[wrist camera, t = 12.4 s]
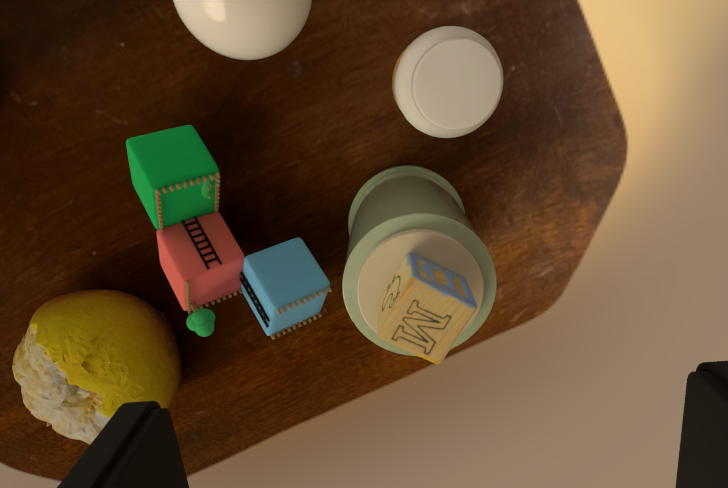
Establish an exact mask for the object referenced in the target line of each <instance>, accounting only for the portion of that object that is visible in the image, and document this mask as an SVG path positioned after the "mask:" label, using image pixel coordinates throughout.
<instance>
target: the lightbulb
mask: <svg viewBox="0 0 728 488" xmlns="http://www.w3.org/2000/svg"><path fill="white" fill-rule="evenodd" d="M173 2H174V5H175V8H176V10H177V12H178V14H179V16H180V18H181V20H182V21H183V23H184V24H185V26H186V27H187V28H188V30H189V31H190V32H191V33H192V34H193V35H194V36H195V37H196V38H197V39H198V40H199V41H200V42H201V43H203V44H204V45H205V46H207V47H208V48H210V49H211V50H213V51H215V52H217V53H219V54H221V55H224V56H226V57H230V58H234V59H240V60H257V59H262V58H266V57H269V56H272V55H274V54H276V53H278V52H280V51H281V50H283V49H284V48H286V47H287V46H288V45H289V44H291V43H292V42H293V41H294V39H295V38H296V37H297V36H298V35H299V33H300V32H301V30H302V29H303V27H304V25H305V23H306V21H307V18H308V16H309V12H310V9H311V4H312V0H173Z"/></svg>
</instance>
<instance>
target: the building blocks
mask: <svg viewBox="0 0 728 488" xmlns="http://www.w3.org/2000/svg"><path fill="white" fill-rule="evenodd" d="M126 147H127V153H128V159H129V165H130V171H131V177H132V182H133V185H134V188H135V190H136V191H137V193H138V195H139V197H140V199H141V201H142V203H143V205H144V207H145V209H146V211H147V213H148V215H149V217H150V219H151V221H152V223H153V225H154V227H155V228H156V229H158V230H157V241H158V249H159V257H160V264H161V266H162V269H163V271H164V273H165V275H166V277H167V279H168V281H169V283H170V285H171V287H172V289H173V291H174V293H175V295H176V297H177V299H178V301H179V303H180V305H181V307H182V308H183V310H184V311H187V312H188V314H190V315H189V316H188V318H187V321H186V323H187V327H188V328H189V329H190V330H192V331H196V333H197V334H198V335H199V336H202V337H207V336H209V335H211V334H212V333H213V331H214V321H215V314H214V313H213V311H212V310H210V309H204V308H203V306H202V305H203V304H205V305H206V307H209V304H208V302H210V301H211V303H212V305H214V304H215V302H214V300H215V299H216V300H217V302H220V299H219V298H220V297H222V298H223V300H226V297H225V295H228V297H229V298H231V297H232V296H231V294H230V293H233V294H234V295H235V296H236V295H237V293H236V291H237V290H238V291H239V292H240V294H241V293H242V292H243V294H244V296H245V297H246V299H247V301H248V303H249V305H250V306H251V308H252V310H253V312H254V314H255V315H256V317H257V319H258V321H259V322H260V324H261V326H262V328H263V330H264V331H265V333H266V334H267V336H271V337H272V339H275V336H274V334H277V336H278V337H280V336H281V335H280V333H279V332H280V331H282V333H283V335H284V334H286V332H285V329H287V330H288V332H290V331H291V329H290V327H291V326H292V327H293V329H294V330H295V329H296V326H295V324H298V326H299V327H301V326H302V325H301V324H300V322H303V323H304V325H305V324H307V323H306V321H305V320H306V319H308V321H309V322H311V321H312V320H311V319H310V318H311V317H313V319H314V320H316V319H317V318H316V316H315V315H318V316H319V318H320V317H322V316H321V314H320V310H321V308H322V305H323V303H324V300H325V297H326V295H327V292H328V291H329V292H331V291H332V290H331V289H330V282H329V280H328V279H327V277H326V276H325V274H324V272H323V271H322V269H321V268H320V266H319V265H318V263H317V262H316V260H315V258H314V257H313V255H312V254H311V252H310V251H309V249H308V248H307V246H306V244H305V243H304V241H303V240H302V239H301V238H294V239H291V240H288V241H286V242H283V243H280V244H277V245H275V246H272V247H269V248H267V249H264V250H261V251H259V252H256V253H253V254H251V255H248V256H246V257H245V256H244V254H243V252H242V250H241V249H240V247H239V245H238V244H237V242H236V240H235V238H234V237H233V235H232V233H231V231H230V230H229V228H228V226H227V225H226V223H225V221H224V219H223V218H222V216H221V214H220V213H219V212H218V211H219V208H218V207H219V198H220V197H219V195H220V193H219V191H220V189H219V187H220V184H219V182H220V180H219V178H220V172H219V168H218V166H217V164H216V163H215V161H214V159H213V158H212V156H211V154H210V153H209V151H208V149H207V148H206V146H205V145H204V143H203V141H202V140H201V138H200V136H199V135H198V133H197V131H196V130H195V128H194V127H193V126H191V125H186V126H181V127H176V128H172V129H167V130H163V131H159V132H154V133H150V134H145V135H141V136H136V137H132V138H129V139H127V141H126ZM198 306H199V307H200V308H198ZM191 309H192V311H193V313H192V312H191ZM191 313H192V314H191Z"/></svg>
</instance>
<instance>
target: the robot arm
mask: <svg viewBox="0 0 728 488" xmlns="http://www.w3.org/2000/svg"><path fill="white" fill-rule="evenodd" d="M677 471H678V472H677V480H676V488H728V361H717V362H704V363H701V364H699V366H698V367H697V369H696V372H691V373H690V374H689V375H688V379H687V386H686V395H685V404H684V414H683V424H682V433H681V442H680V451H679V462H678V470H677ZM57 488H189V485H188V481H187V477H186V473H185V469H184V466H183V462H182V458H181V454H180V450H179V446H178V442H177V438H176V434H175V430H174V426H173V423H172V419H171V415H170V412H169V411H168V409H166V408H161V406H160V404H159V403H158V402H156V401H143V402H129V403H124V404H122V405H121V406H120V407H119V408H118V410H117V411H116V412H115V413H114V415H113V416H112V417H111V419H110V420H109V421H108V422H107V424H106V425H105V426H104V428H103V429H102V430H101V432H100V433H99V434H98V435H97V437H96V438H95V439H94V441H93V442H92V443H91V444H90V446H89V447H88V448H87V450H86V451H85V452H84V454H83V455H82V456H81V457H80V459H79V460H78V461H77V463H76V464H75V465H74V467H73V468H72V469H71V470H70V472H69V473H68V474H67V476H66V477H65V478H64V479H63V481H62V482H61V483H60V485H59V486H58V487H57Z"/></svg>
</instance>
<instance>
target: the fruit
mask: <svg viewBox="0 0 728 488" xmlns="http://www.w3.org/2000/svg"><path fill="white" fill-rule="evenodd" d="M176 342H177V341H176V336H175V334H174V329H173V327H172V325H171V323H170V322H169V321H168V320H167V319H166V317H165V315H164V314H163V313H162V312H160V311H158V310H157V309H156V308H154V307H152V306H151V305H150V304H149V303H147V302H146V301H144V300H142V299H141V298H139V297H137V296H134V295H131V294H128V293H126V292H122V291H117V290H108V289H103V290H99V289H91V290H81V291H75V292H73V293H68V294H64V295H61V296H58V297H55V298H53V299H52V300H50V301H48V302H46V303H44V304H43V306H41V307H40V308H38V309H37V310H36V312H35V313H34V315H33V317H32V320H31V321H30V325H29V327H28V330H27V332H26V335H23V339H22V342H21V343H20V344H19V345H18V346H17V349H16V351H15V356H14V359H13V373H14V377H15V380H16V381H17V382H18V383H19V384H20V385H21V391H22V395H23V402H24V404H25V406H26V407H27V408H28V409H29V410H30V411H31V414H33V415H34V416H35V417H36V418H38V419H40V420H43V421H46V422H47V426H49V425H50V424H52V427H53V429H54V430H55V431H56V432H57V433H59V434H61V435H64V436H66V437H68V438H71V439H77V440H78V439H80V440H82V441H84V442H86V443H88V444H91V443H92V442H93V441H94V439H95V438H96V437H97V435H98V434H99V433H100V432H101V430H102V429H103V428H104V426H105V425H106V424H107V422H108V421H109V420H110V419H111V417H112V416H113V415H114V413H115V412H116V411H117V410H118V408H119V407H120V406H121V405H122V404H124V403H129V402H143V401H156V402H158V403H159V404H160V406H161V408H166V409H167V408H168V406H169V405H170V403H171V402H172V400H173V398H174V396H175V395H176V393H177V390H178V388H179V385H180V381H181V377H182V376H181V370H182V369H181V358H180V352H179V348H178V346H177V344H176Z"/></svg>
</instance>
